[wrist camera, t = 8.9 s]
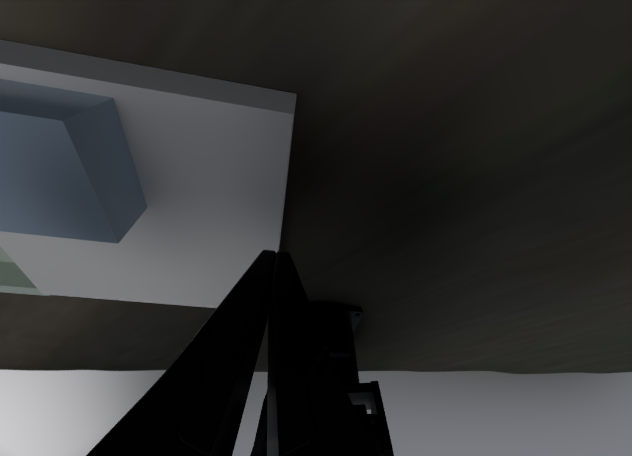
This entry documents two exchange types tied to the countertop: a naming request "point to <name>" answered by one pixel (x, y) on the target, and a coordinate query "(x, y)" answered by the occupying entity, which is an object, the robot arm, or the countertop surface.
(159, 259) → the plate
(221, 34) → the countertop surface
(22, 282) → the tray
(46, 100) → the slate blue tile
